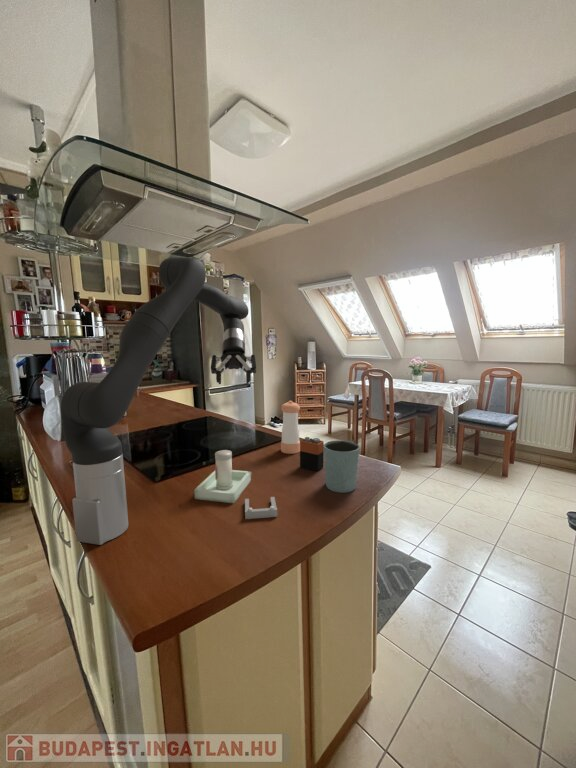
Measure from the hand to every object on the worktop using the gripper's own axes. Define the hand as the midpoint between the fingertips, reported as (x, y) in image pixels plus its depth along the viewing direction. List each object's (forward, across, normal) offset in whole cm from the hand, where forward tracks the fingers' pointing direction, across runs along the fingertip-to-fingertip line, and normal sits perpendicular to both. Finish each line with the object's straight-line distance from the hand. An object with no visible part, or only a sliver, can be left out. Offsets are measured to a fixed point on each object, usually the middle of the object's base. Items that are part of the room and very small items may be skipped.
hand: (233, 382), depth 98 cm
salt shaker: (+10, +20, +31) cm, 38 cm away
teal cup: (+31, +30, +10) cm, 44 cm away
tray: (+29, -3, +11) cm, 31 cm away
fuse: (+29, -3, +11) cm, 31 cm away
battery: (+21, +25, +20) cm, 38 cm away
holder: (+38, +7, +3) cm, 38 cm away
